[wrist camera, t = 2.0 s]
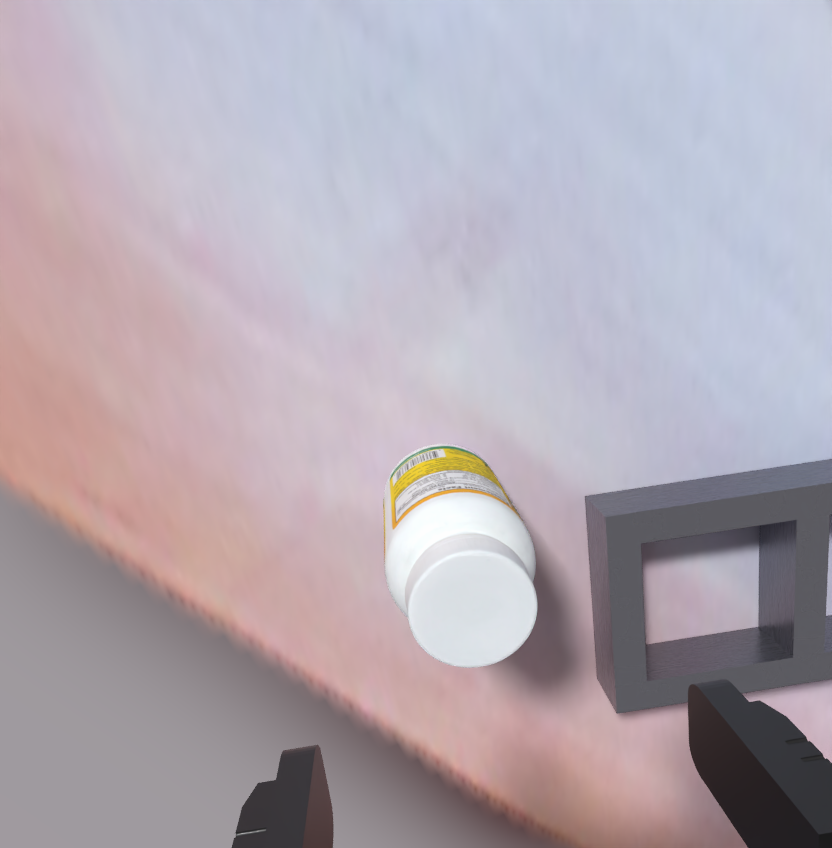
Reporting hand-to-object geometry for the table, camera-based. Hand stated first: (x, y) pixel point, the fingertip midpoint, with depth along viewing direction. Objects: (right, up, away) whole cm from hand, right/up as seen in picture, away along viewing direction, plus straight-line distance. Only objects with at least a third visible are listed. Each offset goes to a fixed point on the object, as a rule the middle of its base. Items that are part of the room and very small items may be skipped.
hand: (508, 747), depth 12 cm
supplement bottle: (-1, +4, +15) cm, 15 cm away
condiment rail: (+16, 0, +16) cm, 23 cm away
